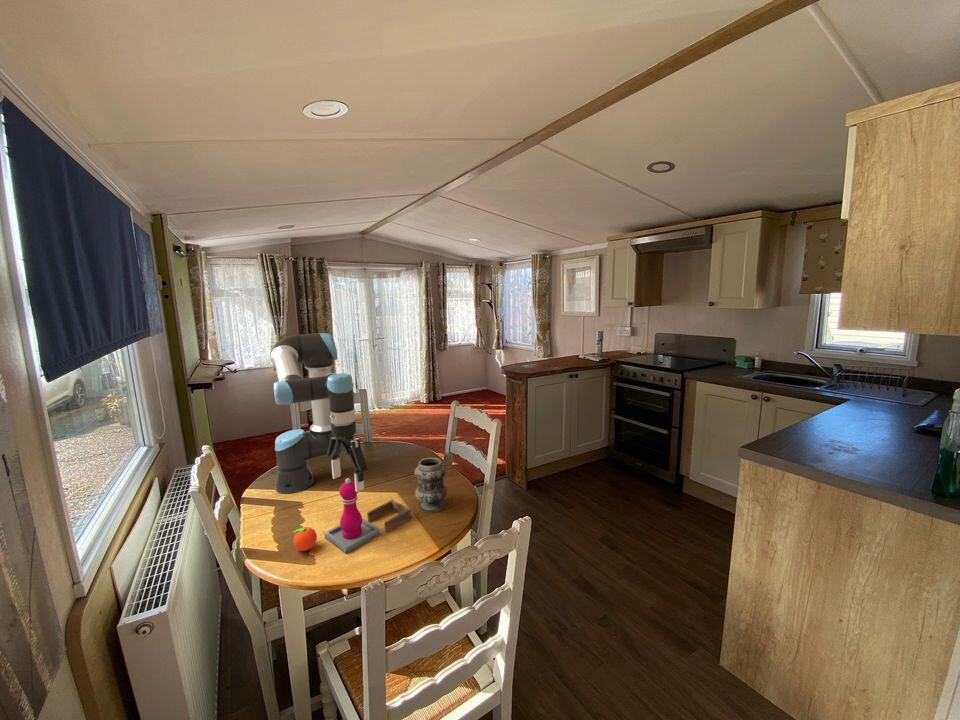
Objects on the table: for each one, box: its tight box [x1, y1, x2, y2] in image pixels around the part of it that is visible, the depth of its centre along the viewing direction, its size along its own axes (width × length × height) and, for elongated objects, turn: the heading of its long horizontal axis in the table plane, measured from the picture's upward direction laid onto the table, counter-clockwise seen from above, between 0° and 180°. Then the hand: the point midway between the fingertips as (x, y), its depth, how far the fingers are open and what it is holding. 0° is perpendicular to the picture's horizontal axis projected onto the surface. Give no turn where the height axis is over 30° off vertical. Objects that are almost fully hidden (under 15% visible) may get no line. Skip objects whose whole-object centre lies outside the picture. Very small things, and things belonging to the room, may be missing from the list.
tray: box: [323, 517, 381, 554], centre depth 134 cm, size 13×13×2 cm
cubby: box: [366, 499, 412, 533], centre depth 144 cm, size 11×11×4 cm
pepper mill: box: [338, 477, 363, 539], centre depth 133 cm, size 7×7×20 cm
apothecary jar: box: [414, 457, 448, 514], centre depth 151 cm, size 12×12×18 cm
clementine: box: [291, 526, 318, 552], centre depth 128 cm, size 8×7×7 cm
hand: (348, 483), depth 132 cm, fingers open, 13 cm apart
